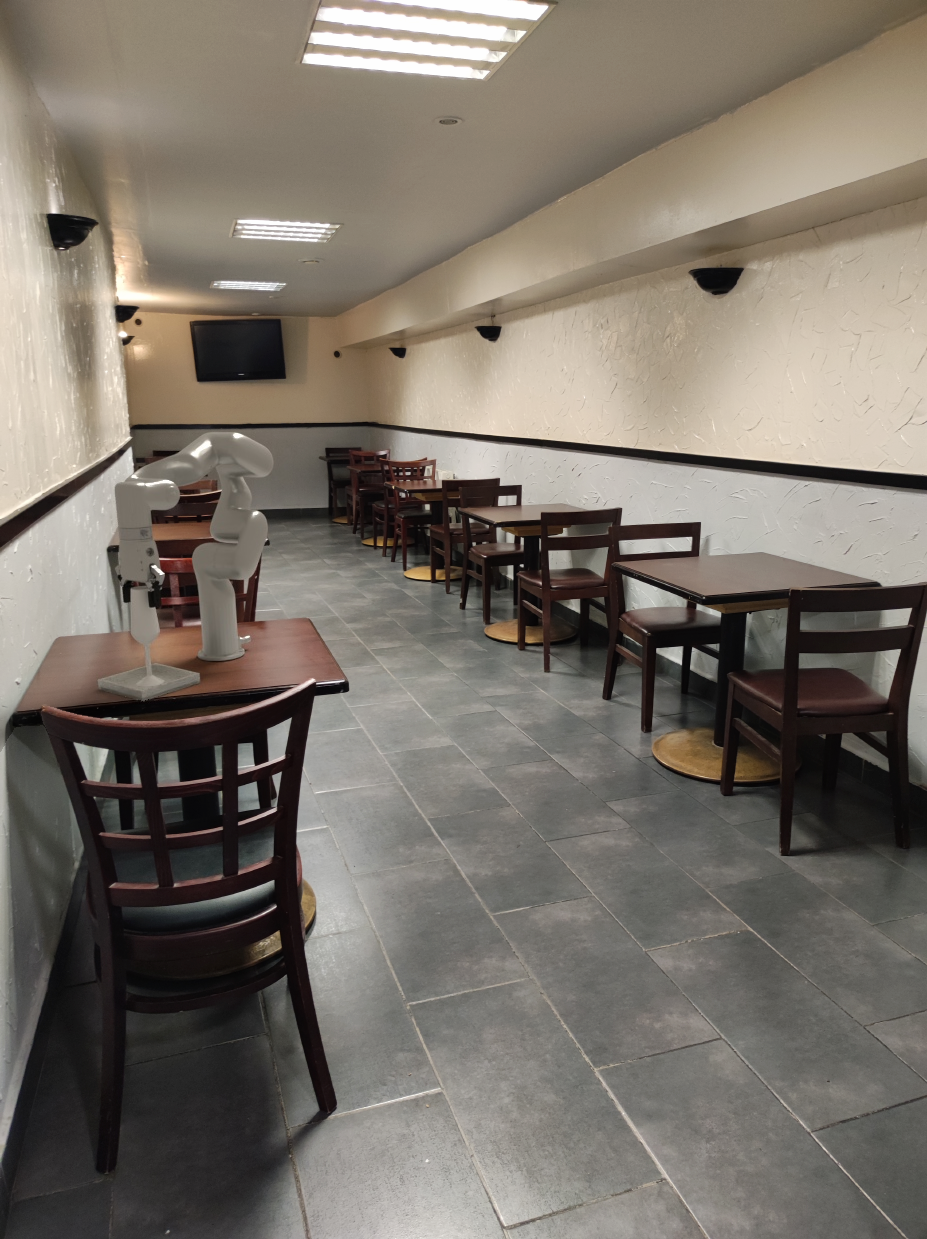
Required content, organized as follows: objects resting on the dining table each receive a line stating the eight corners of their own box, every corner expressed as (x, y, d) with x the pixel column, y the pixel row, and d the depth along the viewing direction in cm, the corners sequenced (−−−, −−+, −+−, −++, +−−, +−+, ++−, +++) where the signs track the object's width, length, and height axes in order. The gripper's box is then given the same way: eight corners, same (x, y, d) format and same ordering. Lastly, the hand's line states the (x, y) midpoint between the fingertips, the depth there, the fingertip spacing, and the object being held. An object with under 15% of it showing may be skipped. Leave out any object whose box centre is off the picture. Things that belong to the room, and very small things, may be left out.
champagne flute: (134, 687, 207) (124, 591, 201) (137, 679, 213) (128, 586, 208) (163, 685, 208) (154, 589, 203) (165, 677, 215) (157, 584, 209)
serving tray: (156, 672, 222) (155, 662, 222) (200, 682, 213) (199, 673, 213) (98, 689, 208) (97, 679, 208) (142, 701, 199) (141, 691, 199)
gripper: (172, 534, 200) (178, 605, 204) (126, 529, 210) (133, 597, 214) (145, 538, 194) (152, 611, 198) (99, 533, 203) (106, 603, 208)
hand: (142, 604), depth 206 cm, fingers open, 9 cm apart
